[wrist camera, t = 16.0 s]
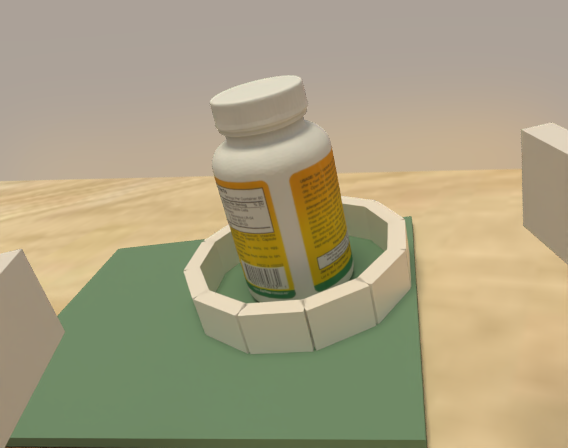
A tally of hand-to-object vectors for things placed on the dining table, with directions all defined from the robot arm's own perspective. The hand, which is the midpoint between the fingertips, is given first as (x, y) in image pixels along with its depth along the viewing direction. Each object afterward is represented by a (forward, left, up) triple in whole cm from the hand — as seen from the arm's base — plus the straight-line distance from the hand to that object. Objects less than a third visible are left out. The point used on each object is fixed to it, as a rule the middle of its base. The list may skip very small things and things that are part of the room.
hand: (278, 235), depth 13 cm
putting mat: (-7, +7, -8) cm, 13 cm away
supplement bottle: (-2, +9, -8) cm, 12 cm away
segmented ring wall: (-3, +9, -8) cm, 13 cm away
